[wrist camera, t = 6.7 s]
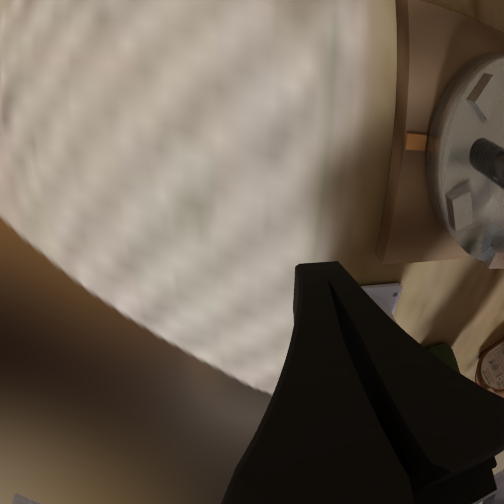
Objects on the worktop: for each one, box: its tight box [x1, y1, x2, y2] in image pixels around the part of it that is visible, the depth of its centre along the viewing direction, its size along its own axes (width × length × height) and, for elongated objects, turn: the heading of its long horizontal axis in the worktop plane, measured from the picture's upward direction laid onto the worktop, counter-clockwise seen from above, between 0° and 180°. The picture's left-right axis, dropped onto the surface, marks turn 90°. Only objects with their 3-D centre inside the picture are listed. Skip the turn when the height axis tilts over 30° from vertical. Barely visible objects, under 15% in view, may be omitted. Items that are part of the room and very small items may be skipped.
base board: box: [376, 0, 504, 265], centre depth 16 cm, size 18×18×2 cm
